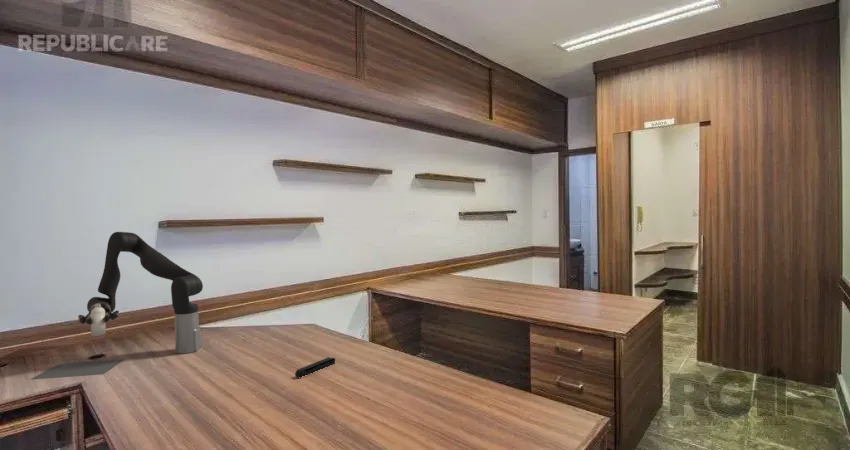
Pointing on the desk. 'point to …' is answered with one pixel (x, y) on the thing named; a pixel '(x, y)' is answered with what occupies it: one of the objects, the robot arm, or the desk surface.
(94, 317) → the white domed bottle
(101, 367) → the desk mat
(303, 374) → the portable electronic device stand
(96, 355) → the desk surface
